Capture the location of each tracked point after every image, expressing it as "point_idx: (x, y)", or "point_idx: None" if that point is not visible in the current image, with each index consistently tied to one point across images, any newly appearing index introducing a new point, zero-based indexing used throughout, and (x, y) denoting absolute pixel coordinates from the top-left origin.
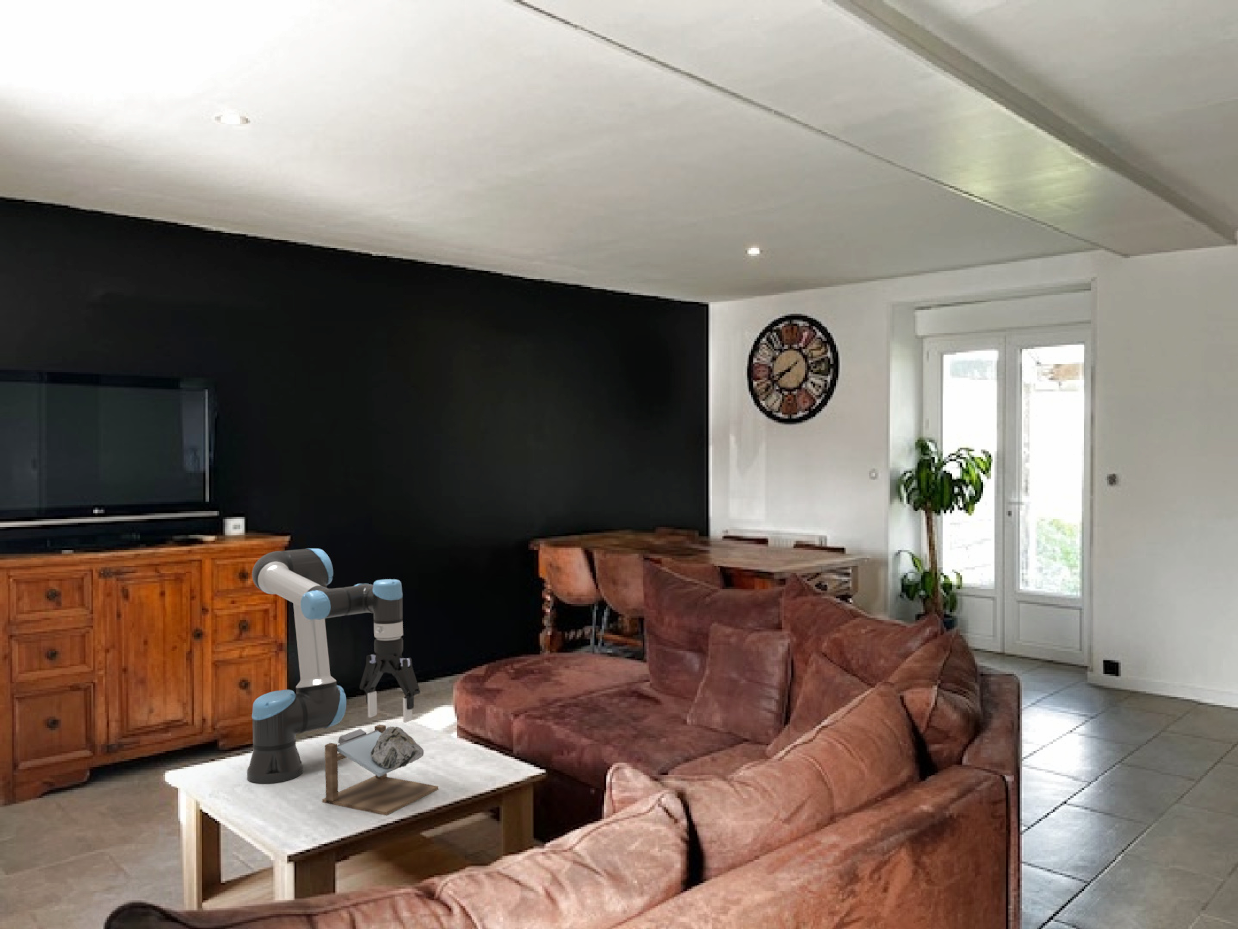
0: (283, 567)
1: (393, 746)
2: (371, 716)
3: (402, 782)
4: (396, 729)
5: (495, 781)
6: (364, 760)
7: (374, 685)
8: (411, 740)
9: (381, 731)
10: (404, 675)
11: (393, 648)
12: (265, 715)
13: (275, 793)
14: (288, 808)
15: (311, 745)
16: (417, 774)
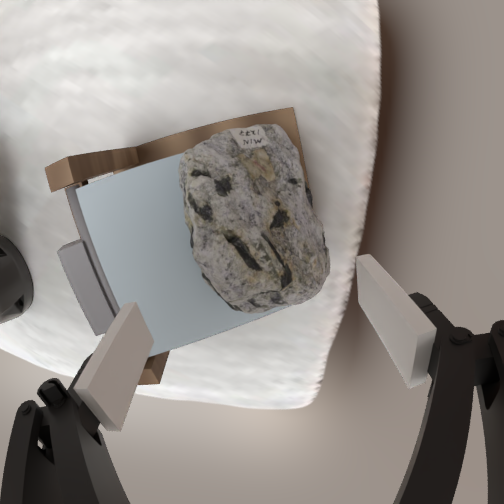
0: None
1: (316, 293)
2: (149, 335)
3: (197, 143)
4: (244, 241)
5: (352, 13)
6: (230, 316)
7: (91, 444)
8: (260, 164)
9: (81, 178)
10: (450, 500)
11: None
12: None
13: (72, 321)
14: None
15: None
16: (163, 76)
